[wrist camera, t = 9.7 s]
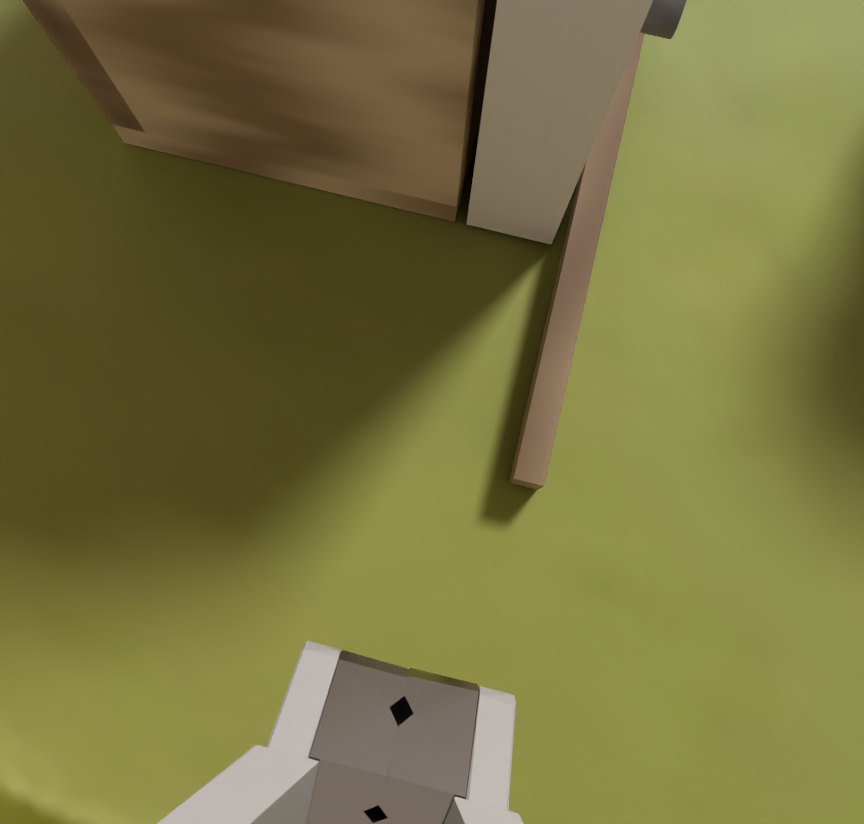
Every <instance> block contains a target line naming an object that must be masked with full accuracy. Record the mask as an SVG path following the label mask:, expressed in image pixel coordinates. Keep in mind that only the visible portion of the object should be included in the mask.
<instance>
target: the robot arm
mask: <svg viewBox="0 0 864 824" xmlns="http://www.w3.org/2000/svg"><path fill="white" fill-rule="evenodd" d="M515 709H516V701H515V698H514V695H513V694H510V693H506V692H502V691H498V690H494V689H490V688H485V687H481V686H478V684H474V683H470V682H466V681H462V680H458V679H454V678H450V677H446V676H442V675H438V674H433V673H429V672H425V671H421V670H417V669H413V668H410V669H408V668H404V667H401V666H397V665H394V664H390V663H387V662H383V661H379V660H376V659H372V658H369V657H365V656H362V655H358V654H355V653H351V652H348V651H344V650H341V649H338V648H334V647H330V646H326V645H322V644H319V643H315V642H311V641H306V643H305V645H304V647H303V648H302V650H301V652H300V655H299V658H298V661H297V663H296V666H295V669H294V672H293V675H292V677H291V680H290V683H289V686H288V688H287V691H286V694H285V697H284V699H283V702H282V705H281V708H280V710H279V713H278V716H277V719H276V721H275V724H274V727H273V730H272V732H271V735H270V738H269V741H268V743H267V746H261V745H257V744H256V745H254V746H253V747H252V748H251V749H249V750H248V751H247V752H245V753H244V754H243V755H242V756H240V757H239V758H238V759H237V760H235V761H234V762H233V763H232V764H230V765H229V766H228V767H227V768H225V769H224V770H223V771H222V772H220V773H219V774H218V775H217V776H215V777H214V778H213V779H212V780H210V781H209V782H208V783H207V784H205V785H204V786H203V787H202V788H200V789H199V790H198V791H197V792H195V793H194V794H193V795H192V796H190V797H189V798H188V799H187V800H185V801H184V802H183V803H181V804H180V805H179V806H178V807H176V808H175V809H174V810H173V811H171V812H170V813H169V814H168V815H166V816H165V817H164V818H163V819H161V820H160V821H159V822H158V823H156V824H524V823H523V821H522V819H521V817H520V815H519V813H515V812H512V811H509V810H508V805H509V792H510V778H511V764H512V750H513V736H514V723H515Z"/></svg>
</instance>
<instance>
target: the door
mask: <svg viewBox="0 0 864 824" xmlns="http://www.w3.org/2000/svg"><path fill="white" fill-rule="evenodd" d="M685 3H686V0H497V5H496V13H495V20H494V27H493V35H492V42H491V49H490V56H489V64H488V71H487V78H486V86H485V93H484V100H483V108H482V115H481V122H480V129H479V137H478V144H477V151H476V159H475V166H474V173H473V181H472V188H471V195H470V202H469V210H468V217H467V225H471V226H475V227H480V228H484V229H488V230H492V231H496V232H501V233H505V234H509V235H513V236H517V237H521V238H526V239H530V240H534V241H538V242H542V243H547V244H552V242H553V240H554V237H555V235H556V232H557V230H558V228H559V225H560V223H561V220H562V218H563V216H564V213H565V211H566V208H567V206H568V204H569V201H570V199H571V196H572V194H573V192H574V189H575V187H576V184H577V182H578V180H579V177H580V175H581V172H582V170H583V168H584V165H585V163H586V160H587V158H588V156H589V153H590V151H591V148H592V146H593V144H594V141H595V139H596V136H597V134H598V132H599V129H600V127H601V124H602V122H603V120H604V117H605V115H606V112H607V110H608V108H609V105H610V103H611V100H612V98H613V96H614V93H615V91H616V88H617V86H618V84H619V81H620V79H621V76H622V74H623V72H624V69H625V67H626V64H627V62H628V60H629V57H630V55H631V52H632V50H633V48H634V45H635V43H636V40H637V38H638V36H639V33H640V32H641V33H645V34H650V35H654V36H658V37H663V38H667V39H671V38H672V36H673V35H674V33H675V30H676V28H677V26H678V23H679V21H680V18H681V15H682V12H683V9H684V6H685Z"/></svg>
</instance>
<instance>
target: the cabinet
mask: <svg viewBox="0 0 864 824" xmlns="http://www.w3.org/2000/svg"><path fill="white" fill-rule="evenodd" d="M23 1H24V3H25V4H26V6H27V7H28V8H29V10H30V11H31V13H32V14H33V15H34V17H35V18H36V20H37V21H38V22H39V24H40V25H41V27H42V28H43V29H44V31H45V32H46V34H47V35H48V36H49V38H50V39H51V41H52V42H53V43H54V45H55V46H56V48H57V49H58V50H59V52H60V53H61V55H62V56H63V57H64V59H65V60H66V62H67V63H68V64H69V66H70V67H71V69H72V70H73V71H74V73H75V74H76V76H77V77H78V78H79V80H80V81H81V83H82V84H83V85H84V87H85V88H86V90H87V91H88V92H89V94H90V95H91V97H92V98H93V100H94V101H95V102H96V104H97V105H98V107H99V108H100V109H101V111H102V112H103V114H104V115H105V116H106V118H107V119H108V121H109V122H110V123H111V125H112V126H113V128H114V129H115V130H116V132H117V133H118V135H119V136H120V137H121V139H122V140H123V142H124V143H127V144H131V145H135V146H139V147H143V148H148V149H152V150H156V151H160V152H164V153H168V154H173V155H177V156H181V157H185V158H189V159H194V160H198V161H202V162H206V163H210V164H214V165H219V166H223V167H227V168H231V169H235V170H240V171H244V172H248V173H252V174H256V175H260V176H265V177H269V178H273V179H277V180H281V181H286V182H290V183H294V184H298V185H302V186H306V187H311V188H315V189H319V190H323V191H327V192H332V193H336V194H340V195H344V196H348V197H352V198H357V199H361V200H365V201H369V202H373V203H377V204H382V205H386V206H390V207H394V208H398V209H403V210H407V211H411V212H415V213H419V214H423V215H428V216H432V217H436V218H440V219H444V220H449V221H453V222H455V220H456V216H457V212H458V209H459V205H460V201H461V197H462V193H463V189H464V185H465V182H466V178H467V174H468V170H469V166H470V162H471V158H472V155H473V151H474V147H475V143H476V139H477V135H478V132H479V128H480V122H481V115H482V108H483V100H484V93H485V86H486V78H487V71H488V64H489V56H490V49H491V42H492V35H493V27H494V20H495V13H496V5H497V0H23ZM643 37H644V33H641V32H640V33H639V36H638V38H637V40H636V43H635V45H634V48H633V50H632V52H631V55H630V57H629V60H628V62H627V64H626V67H625V69H624V72H623V74H622V76H621V79H620V81H619V84H618V86H617V88H616V91H615V93H614V96H613V98H612V100H611V103H610V105H609V108H608V110H607V112H606V115H605V117H604V120H603V122H602V124H601V127H600V129H599V132H598V134H597V136H596V139H595V141H594V144H593V146H592V148H591V151H590V153H589V156H588V158H587V160H586V163H585V165H584V168H583V170H582V172H581V175H580V177H579V180H578V183H577V188H576V192H575V196H574V201H573V205H572V209H571V214H570V218H569V222H568V227H567V231H566V235H565V240H564V244H563V248H562V253H561V257H560V261H559V266H558V270H557V275H556V279H555V283H554V288H553V292H552V296H551V301H550V305H549V309H548V314H547V318H546V322H545V327H544V331H543V335H542V340H541V344H540V348H539V353H538V357H537V361H536V366H535V370H534V374H533V379H532V383H531V387H530V392H529V396H528V400H527V405H526V409H525V413H524V418H523V422H522V426H521V431H520V435H519V439H518V444H517V448H516V452H515V457H514V461H513V465H512V470H511V474H510V478H509V483H511V484H515V485H519V486H523V487H527V488H531V489H535V490H538V489H540V488H542V487H543V486H544V483H545V479H546V474H547V470H548V465H549V461H550V456H551V452H552V447H553V443H554V438H555V434H556V429H557V425H558V420H559V416H560V411H561V407H562V402H563V398H564V393H565V389H566V384H567V380H568V375H569V371H570V366H571V362H572V357H573V353H574V348H575V344H576V339H577V335H578V330H579V326H580V321H581V317H582V312H583V308H584V303H585V299H586V294H587V290H588V285H589V281H590V276H591V272H592V267H593V263H594V258H595V254H596V249H597V245H598V240H599V236H600V231H601V227H602V222H603V218H604V213H605V208H606V204H607V199H608V195H609V190H610V186H611V181H612V177H613V172H614V168H615V163H616V159H617V154H618V150H619V145H620V141H621V136H622V132H623V127H624V123H625V118H626V114H627V109H628V105H629V100H630V96H631V91H632V87H633V82H634V78H635V73H636V69H637V64H638V60H639V55H640V51H641V46H642V42H643Z"/></svg>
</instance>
